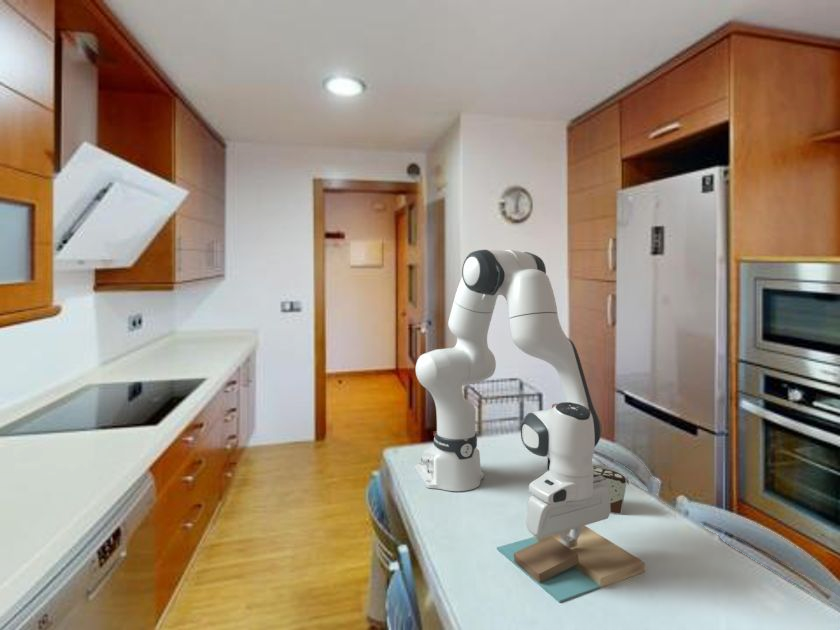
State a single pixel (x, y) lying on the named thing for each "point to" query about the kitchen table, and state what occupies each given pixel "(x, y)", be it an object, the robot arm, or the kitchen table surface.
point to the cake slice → (613, 486)
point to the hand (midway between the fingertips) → (569, 546)
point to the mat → (560, 584)
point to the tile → (545, 559)
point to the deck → (602, 558)
